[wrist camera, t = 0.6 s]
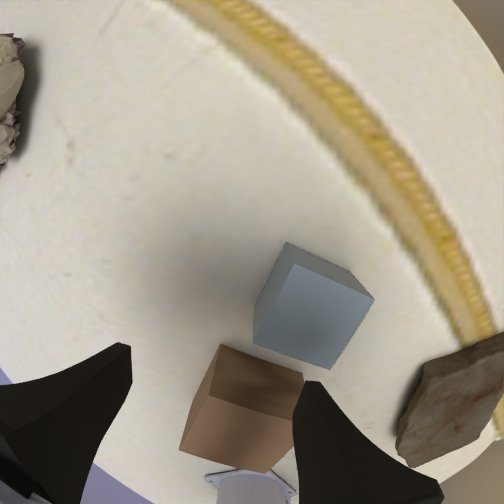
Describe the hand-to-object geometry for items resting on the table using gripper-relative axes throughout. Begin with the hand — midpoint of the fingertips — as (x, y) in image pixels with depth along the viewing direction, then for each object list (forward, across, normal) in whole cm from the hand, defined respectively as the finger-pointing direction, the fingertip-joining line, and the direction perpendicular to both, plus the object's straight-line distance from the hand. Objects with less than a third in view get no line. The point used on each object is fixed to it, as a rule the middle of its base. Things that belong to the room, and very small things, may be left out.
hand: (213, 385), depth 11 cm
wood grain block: (+10, -2, +8) cm, 13 cm away
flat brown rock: (+10, -26, +8) cm, 29 cm away
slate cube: (+10, -5, -1) cm, 11 cm away
